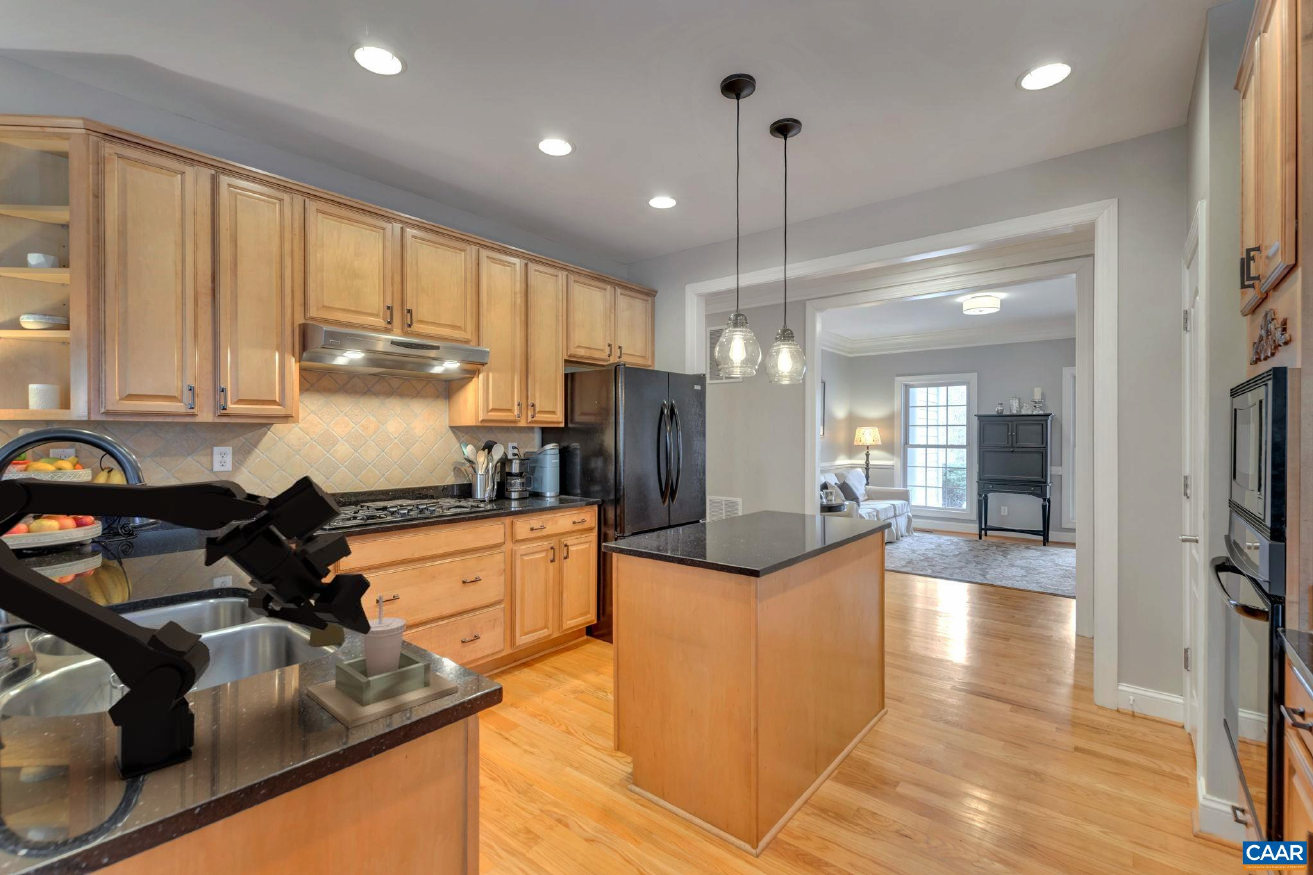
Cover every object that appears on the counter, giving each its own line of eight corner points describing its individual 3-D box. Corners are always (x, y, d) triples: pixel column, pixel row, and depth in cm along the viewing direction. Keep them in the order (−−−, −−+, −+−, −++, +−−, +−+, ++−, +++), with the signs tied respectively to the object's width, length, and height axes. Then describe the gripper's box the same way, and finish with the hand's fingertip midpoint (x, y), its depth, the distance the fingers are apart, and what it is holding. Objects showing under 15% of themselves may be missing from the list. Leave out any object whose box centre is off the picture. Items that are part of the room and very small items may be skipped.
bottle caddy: (349, 728, 80) (349, 694, 80) (306, 693, 91) (306, 664, 91) (458, 691, 92) (458, 662, 92) (409, 664, 103) (409, 638, 103)
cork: (333, 647, 111) (334, 587, 111) (301, 646, 112) (302, 587, 112) (351, 636, 117) (351, 580, 117) (320, 635, 118) (321, 579, 118)
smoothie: (349, 692, 89) (350, 598, 89) (381, 676, 95) (382, 588, 95) (383, 698, 87) (384, 602, 87) (414, 681, 93) (415, 591, 93)
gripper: (358, 512, 79) (424, 585, 88) (271, 516, 88) (340, 581, 96) (298, 582, 72) (378, 653, 80) (210, 578, 80) (290, 643, 89)
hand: (346, 629), depth 87 cm, fingers open, 9 cm apart
